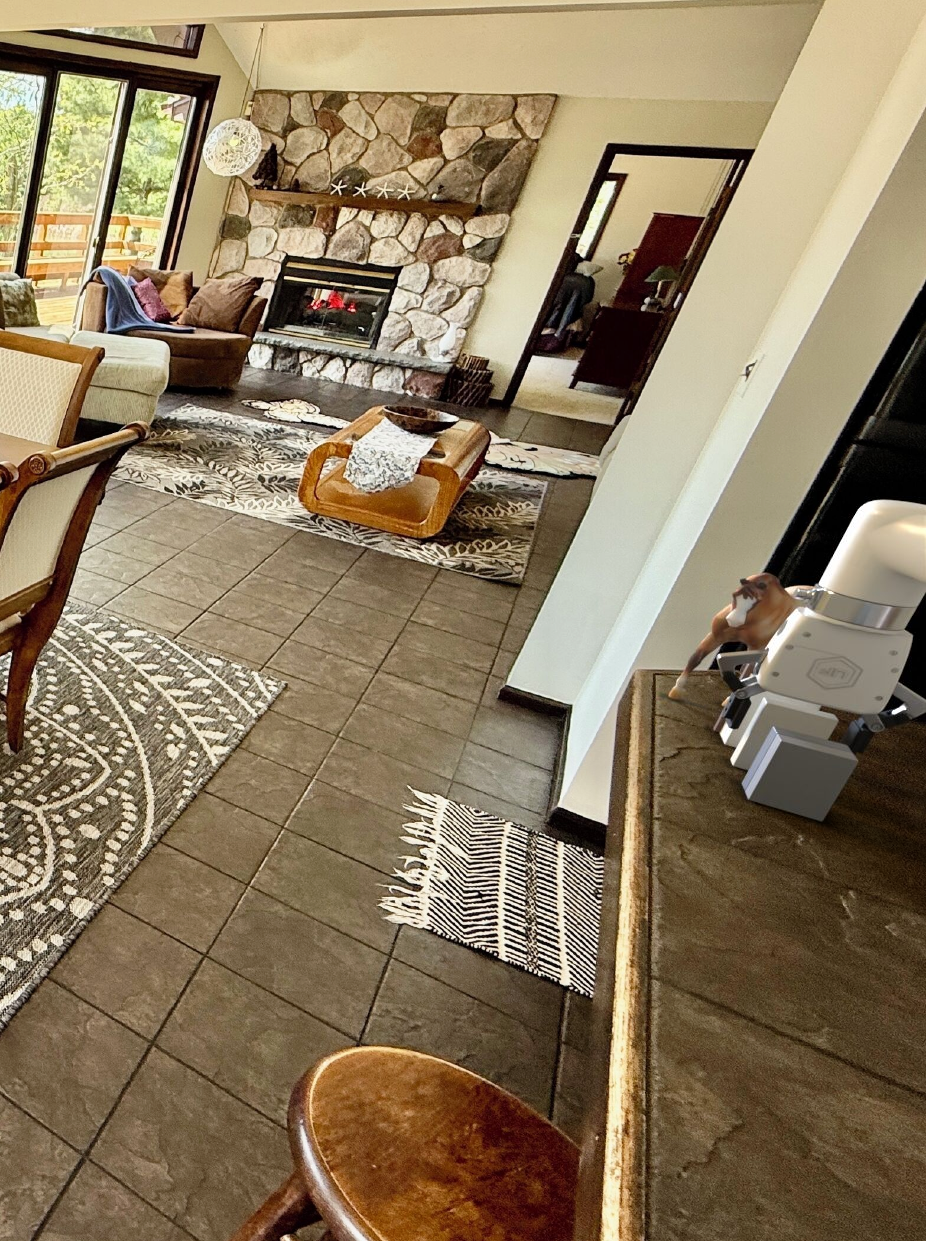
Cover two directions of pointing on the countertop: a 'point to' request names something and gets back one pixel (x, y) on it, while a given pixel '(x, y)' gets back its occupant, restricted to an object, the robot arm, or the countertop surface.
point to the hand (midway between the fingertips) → (786, 739)
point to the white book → (783, 718)
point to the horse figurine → (746, 621)
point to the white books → (752, 711)
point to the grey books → (799, 773)
